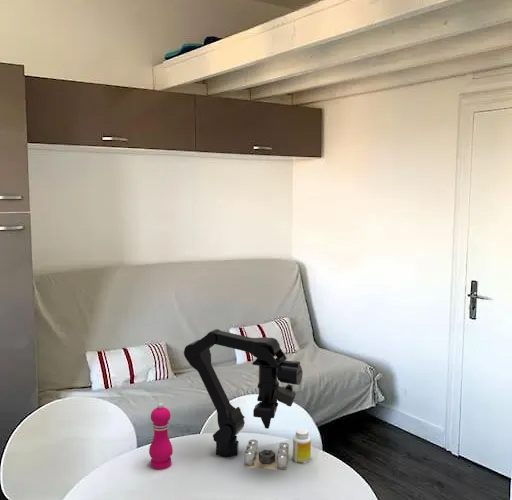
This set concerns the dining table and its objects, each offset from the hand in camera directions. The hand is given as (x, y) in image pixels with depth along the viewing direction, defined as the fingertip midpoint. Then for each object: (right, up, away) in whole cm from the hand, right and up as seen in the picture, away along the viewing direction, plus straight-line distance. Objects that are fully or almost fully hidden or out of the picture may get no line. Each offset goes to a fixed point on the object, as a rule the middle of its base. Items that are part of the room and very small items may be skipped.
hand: (267, 428), depth 179 cm
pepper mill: (-33, -12, +1) cm, 35 cm away
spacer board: (0, -12, 0) cm, 12 cm away
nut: (0, -11, +2) cm, 11 cm away
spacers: (0, -11, +2) cm, 11 cm away
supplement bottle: (+11, -12, +3) cm, 17 cm away
